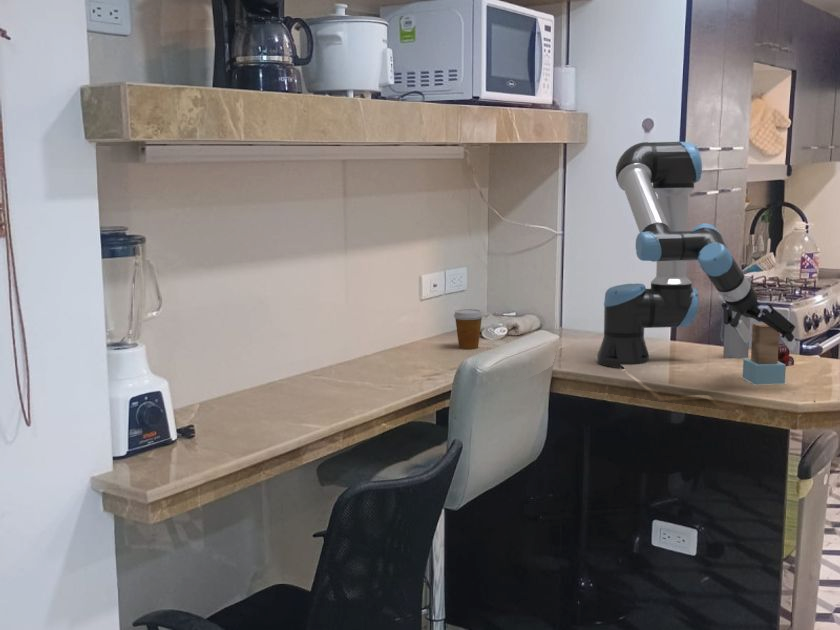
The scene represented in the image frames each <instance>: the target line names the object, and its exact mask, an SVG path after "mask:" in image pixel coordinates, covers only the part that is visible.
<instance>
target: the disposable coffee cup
mask: <svg viewBox="0 0 840 630" xmlns="http://www.w3.org/2000/svg"><path fill="white" fill-rule="evenodd" d="M453 316H454V319H455V325H456V327H455V328H456V333H457V340H458V343H457V344H458V348H459V347H460V348H459V349H461V348H463V349H462V350H474V349H475V350H476V349H478V348H479V343H480V336H481V328H482V327H481V326H482V319H483V317H484V314H483V311H482V310H480V309H477V308H476V309H474V308H466V309H465V308H462V309H457V310H455V312H454V314H453Z"/></svg>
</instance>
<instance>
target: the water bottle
mask: <svg viewBox="0 0 840 630" xmlns="http://www.w3.org/2000/svg"><path fill="white" fill-rule="evenodd" d="M745 277H746V278H747V280H748V281H749V283H750V285H751V286H752V278H751V276H745ZM736 314H737V312H734V311H732V318H734V317H735V315H736ZM740 320H742V321H743V322H744V324H745V325H746V327H747V328H748V330H749V331H750V328H751V318H750V317H745V316H743V315H741V317H740V319H739V320H738V322H739V321H740ZM723 330H724V331H723ZM719 332H720V333H719V334H720V341H721V342H723V350H722V351H723V352H722V355H723V356H722V357H723V358H724V359H749V351H750V350H749V349H750V348H749V347H750V340H749V341H748V343H745V342H744V340H743V339H742V337H741V336H740V334H739V333H738V332H737V331H736V330H735V328H734V327H732V326H731V325H730V324H728V325H726V324H725V323H724V310H723V313H722V319H721V326H720V331H719ZM723 332H724V333H723Z"/></svg>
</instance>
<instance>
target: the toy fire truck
mask: <svg viewBox="0 0 840 630" xmlns="http://www.w3.org/2000/svg"><path fill="white" fill-rule="evenodd" d="M780 334H781V333H779V345H778V361H779V362H781V363H783V364H785V365H786V367H790V366H794V365H795V359H794V357H793V356H791V355H790V351H789V349H788V347H787V346H786V344H785V343H784V341H783V340H782V338H781V337H780Z"/></svg>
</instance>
